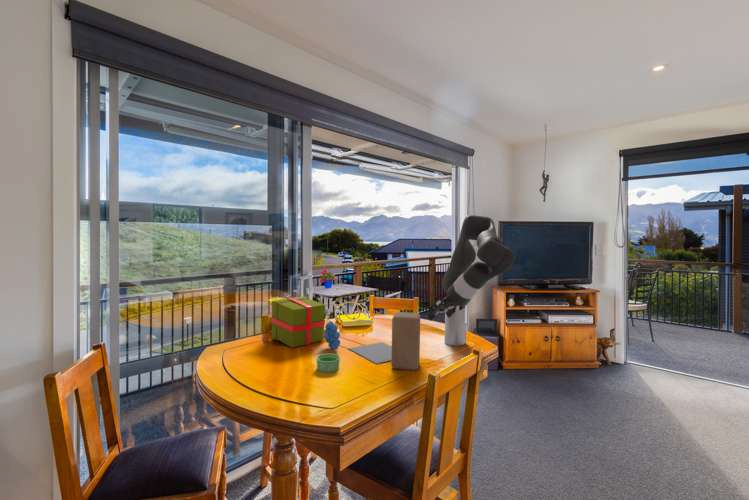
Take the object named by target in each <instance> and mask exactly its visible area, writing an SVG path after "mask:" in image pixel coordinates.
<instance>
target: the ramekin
mask: <svg viewBox="0 0 749 500" xmlns="http://www.w3.org/2000/svg"><path fill="white" fill-rule="evenodd" d="M315 359H316V369H317V370H318V371H319V372H322V373H333V372H336V371H337V370H339V368H340V360H341V357H340V355H339V354H336V353H322V354H318V355H317V356H316V357H315Z"/></svg>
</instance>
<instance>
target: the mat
mask: <svg viewBox="0 0 749 500" xmlns="http://www.w3.org/2000/svg"><path fill="white" fill-rule="evenodd" d="M348 350H350V351H351V352H353V353H355V354H357V355H359V356H361V357H362V358H365V359H366V360H367V361H369V362H372V363H374V364H375V365H379V364H384V363H385V364H386V363H389V362H392V345H390V344H388V343H385V342H383V341H380V342H375V343H371V344H365V345H359V346H354V347H349V348H348Z"/></svg>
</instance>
